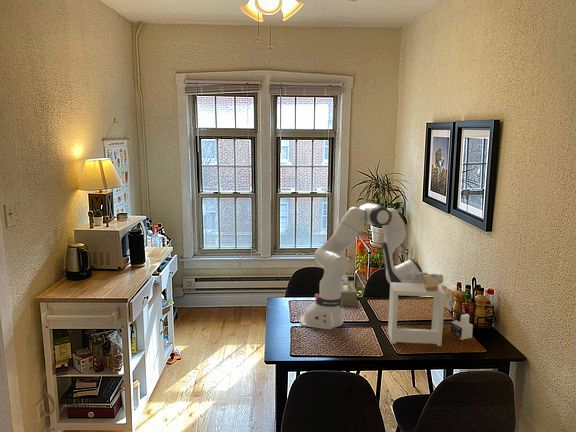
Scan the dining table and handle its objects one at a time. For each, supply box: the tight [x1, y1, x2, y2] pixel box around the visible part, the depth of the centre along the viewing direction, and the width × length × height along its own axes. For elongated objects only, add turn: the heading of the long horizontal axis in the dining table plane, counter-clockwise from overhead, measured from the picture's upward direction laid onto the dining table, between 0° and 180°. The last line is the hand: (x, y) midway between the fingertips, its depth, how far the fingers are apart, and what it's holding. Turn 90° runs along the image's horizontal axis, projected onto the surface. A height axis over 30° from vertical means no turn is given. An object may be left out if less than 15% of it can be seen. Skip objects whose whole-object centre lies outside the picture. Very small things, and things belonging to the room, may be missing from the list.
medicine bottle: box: [450, 311, 474, 341], centre depth 219 cm, size 7×7×12 cm
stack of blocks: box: [432, 283, 458, 312], centre depth 261 cm, size 21×6×12 cm, turn 10°
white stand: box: [387, 282, 445, 347], centre depth 215 cm, size 23×12×26 cm, turn 85°
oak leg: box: [421, 271, 438, 291], centre depth 217 cm, size 19×5×4 cm, turn 175°
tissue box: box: [341, 273, 358, 306], centre depth 268 cm, size 19×10×16 cm, turn 179°
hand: (425, 275), depth 223 cm, fingers open, 8 cm apart
